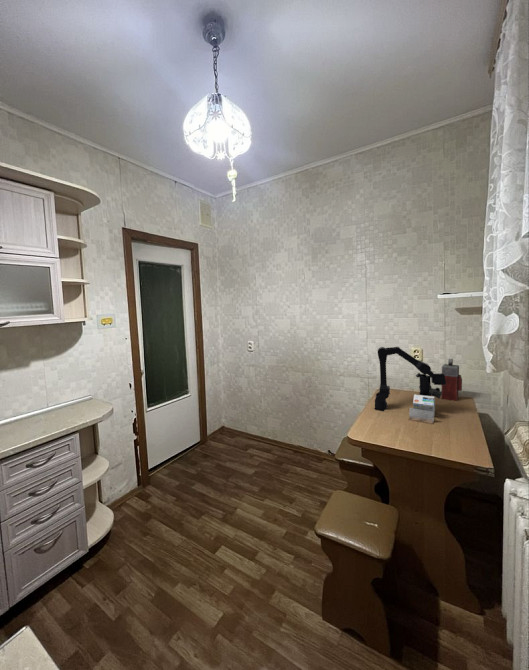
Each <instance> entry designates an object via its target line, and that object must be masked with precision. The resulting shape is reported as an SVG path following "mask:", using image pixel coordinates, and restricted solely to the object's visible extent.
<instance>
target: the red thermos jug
mask: <svg viewBox="0 0 529 670" xmlns="http://www.w3.org/2000/svg"><path fill="white" fill-rule="evenodd" d="M447 360H448V361H447V362H448V363H445V364H443V365H441V373H444V375H445V380H446V384H445V385H441V389H440V391H441V392H442V394H441V397H440V398H441V400H446V401H447V400H448V401H452V400H453V402H458V400H459V392H462V391H463V378H462V375H461V374H460V366H459V365H458V364H454V358H448V359H447Z"/></svg>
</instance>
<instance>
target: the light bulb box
mask: <svg viewBox="0 0 529 670" xmlns="http://www.w3.org/2000/svg"><path fill="white" fill-rule="evenodd" d="M435 398H436V397H434V396H432V395H431V396H424V395H419V394H413V400H412V401H413V402H412V405H413V406H412V408H415V409H421V410H428V411H434V416H435V414H436V401H435Z"/></svg>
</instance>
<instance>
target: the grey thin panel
mask: <svg viewBox="0 0 529 670" xmlns="http://www.w3.org/2000/svg"><path fill="white" fill-rule="evenodd" d="M408 409H409V411H408V413H409V418H415V419H421V420H427V421H433V422H434V423H435V415H434V411H428V410H421V409H415V408H414V407H409V408H408ZM409 418H408V419H409Z"/></svg>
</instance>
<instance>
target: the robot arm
mask: <svg viewBox="0 0 529 670" xmlns="http://www.w3.org/2000/svg"><path fill="white" fill-rule="evenodd" d="M392 355H398V356H400V358H403V359H404V360H405V361H407V362H408V363H410V364H412V365H413V366H414V367H415V368H416V369H417V370H418V371H419V372H417V374H415V377H416V378H419V387H418V388H419V393H418V395H424V396H434V398H437V399H440V398H441V394H442V392H441V389H440V388H439V387H436V388H432V385H431V384H433V385H435V386H442V385H445V384H446V380H445V375H444V373H442V372H440V373H434V372H433V371H432V369H431V366H430V365H429V364H428V363H426V362H424V361H421V360H419V359H417V358H415V357H413V356H412V355H411V354H409V353H408V352H407V351H405V350H403V349H402V348H401V347H400V346H394V347H393V346H392V347H385V346H380V347H379V348H378V349H377V356H378V360H379V361H378V362H379V373H380V374H379V379H380V385H379V388H378V389H379V390H378V392H377V393H376V394H375V399H374V407H373V410H374V409H375V411H380V412H385V410H387V409H388V402H387V399H388V398H389V397H390V395H391V392H390V389H391V388H390V387H391V386H390V385H388V383H387V382H388V381H387V358H388V356H392Z"/></svg>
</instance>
